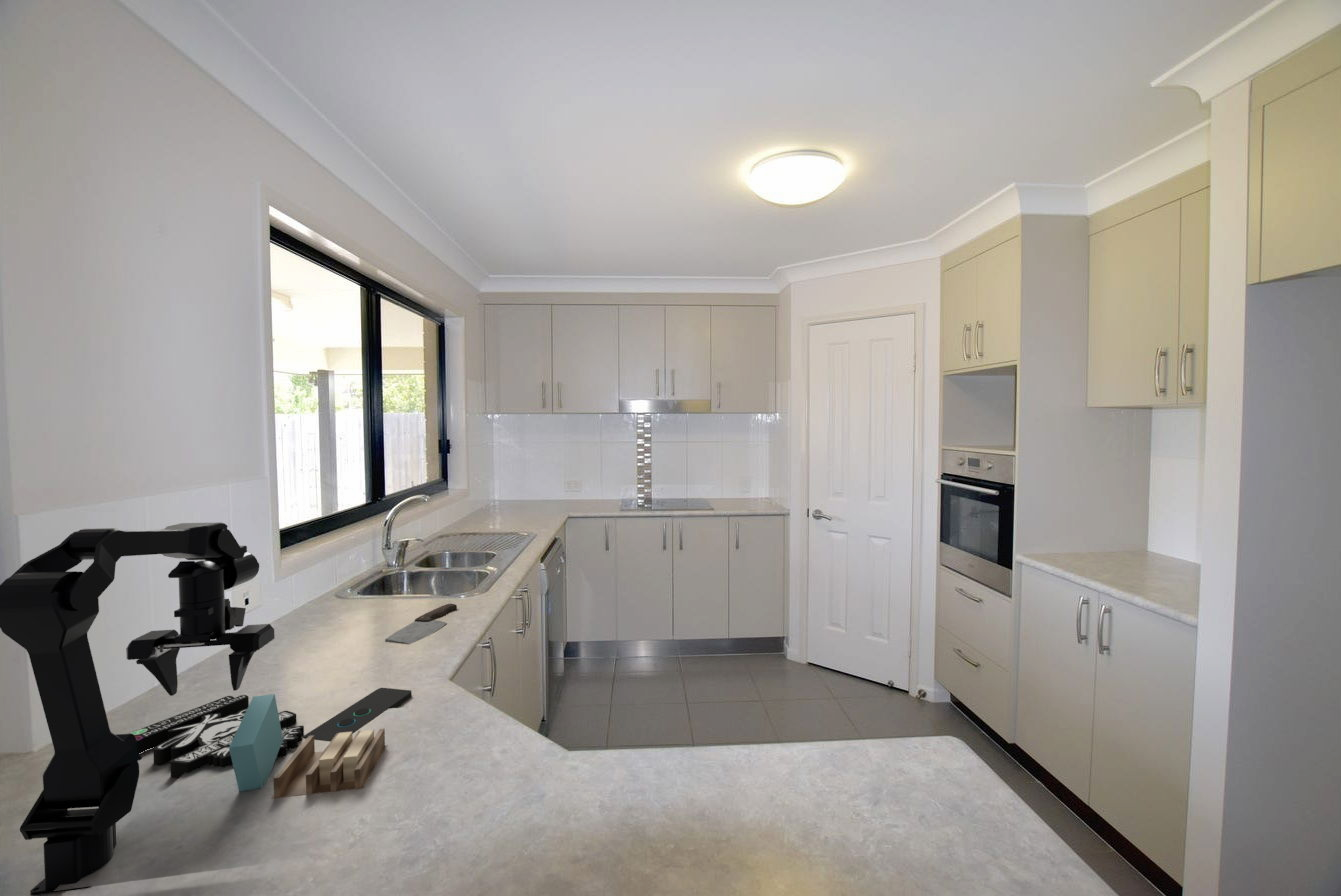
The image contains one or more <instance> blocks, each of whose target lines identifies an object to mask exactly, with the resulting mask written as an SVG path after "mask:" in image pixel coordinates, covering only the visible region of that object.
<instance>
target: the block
mask: <svg viewBox="0 0 1341 896" xmlns="http://www.w3.org/2000/svg"><path fill="white" fill-rule="evenodd" d="M278 713H279V711H278V705H277V699H276V694H275V693H272V694H264V695H257V696H255V695H254V696H252V699H251V700H250V702H249V707H248V709H247V711H246V713H245V715H244V717H243V719H242V721H241V723H240V726H239V728H238V730H237V732H236V734H235V736H234V738H233V740H232V742H231V744H230V747H229V750H230V754H231V759H232V763H233V765H232V767H233V772H234V775H235V779H236V785H237V787H238V788H237V789H238V792H243V791H244V792H245V791H251V790H255V789H256V790H257V789H261V788H263V786H264V785H265V784H266V782H267V780H268V779H269V777H270V775H271V772H272V770H273V767H274V765H275V762H276V761H275V759H276V757H277V754H278V752H279V749H280V746H281V744H282V741H283V736H282V731H281V726H280V720H279V715H278ZM277 758H278V757H277Z"/></svg>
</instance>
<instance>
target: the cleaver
mask: <svg viewBox="0 0 1341 896" xmlns="http://www.w3.org/2000/svg"><path fill="white" fill-rule="evenodd" d="M457 608H458V607H457V604H454V603H447V604H444V605H441V606H439V607H436V608H434V609H432V610H430V611H428V612H426V613H423V614H422V615H420V616H418V617H416V618H415V619H414V621H413V622H411V623H409V624H408V625H405V626H404V627H402V628H401V629H399V630H397V631H395V632H394V633H392V634H390V635H389V636H387V638H385V639H384V642H388V643H395V644H404V645H411V644H414V643H416V642H419V641H420V640H423V639H425V638H426V637H429V636H430V635H433V634H434V633H436V632H438V631H439V630H440V629H441V628H442V627H444V626H446V624H447V622H445V621H442V620H435V619H437V618H440V617H443V616H445V615H446V614H448V613H450V612H453V611H456V610H457Z"/></svg>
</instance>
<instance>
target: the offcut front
mask: <svg viewBox="0 0 1341 896" xmlns="http://www.w3.org/2000/svg"><path fill="white" fill-rule="evenodd" d="M360 731H361V732H360V733H359V735H358V736H357V738H356V739H355V741H354V742H353V744H352V745H351V746H350V748H349V749H348V751H347V752H346V754H345V755H344V757H343V779H344V782H353V781H355V774H354V769H355V768H356V766H357V765H358V763H359V761H360V760H361V758H362V757H363V755H364V753H365V752H366V750H367V749H368V747H369V745H370V744H371V742H372V740H373V739H374V737H375V729H367V730H366V729H365V730H360Z"/></svg>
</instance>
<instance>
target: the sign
mask: <svg viewBox="0 0 1341 896" xmlns="http://www.w3.org/2000/svg"><path fill="white" fill-rule="evenodd" d="M249 700H250V699H249V695H246V694H241V695H238V696H236V697H234V696H233V695H226V696H224V697H221V698H218V699H216V700H213V701H210V702H208V703H205V704H203V705H201V706H197V707H195V708H192V709H190V710H187V711H184V712H182V713H179V714H176V715H173V716H171V717H168V718H166V719H165V718H164V719H163V720H161V721H158V722H155V723H153V724H150V725H148V726H144V727H142V728H139V729H135V730H133V731H131V732H128V733H127V734H133V735H134V736H135V738H136V740H137V750H138V753H141V752H143V751H145V750H147V749H150V748H153V747H154V748H153V749H152V753H153V765H155V766H162V765H163V766H164V765H166V764H168V763H169V762H170V763H169V765H170V766H169V767H170V769H169V770H170V778H172V779H180V778H182V776H183V775H184V774H190V773H191V772H195V771H196V770H199V769H201V768H204V767H205V766H213V767H215V768H219V767H220V768H221V769H222V768H226V767H231V766H233V763H232V759H231V754H230V750H229V747H230V744H231V742H232V740H233V738H234V736H235V734H236V732H237V730H238V728H239V726H240V723H241V721H242V719H243V717H244V715H245V713H246V711H247V709H248V707H249V704H250V702H249ZM278 715H279V720H280V726H281V731H282V736H283V741H282V744H281V746H280V749H279V752H278V754H277V757H276V759H275V762H276V761H277V759H278V758H284V757H286V756H287V755H288V750H294V749H298V748H299V743H301V742H302V740H303V737H304V736H305V725H298V726H297V725H296V724H297V713H295V712H293V711H290V710H283V711H280V712H278ZM294 725H296V726H294ZM291 726H292V727H291Z"/></svg>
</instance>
